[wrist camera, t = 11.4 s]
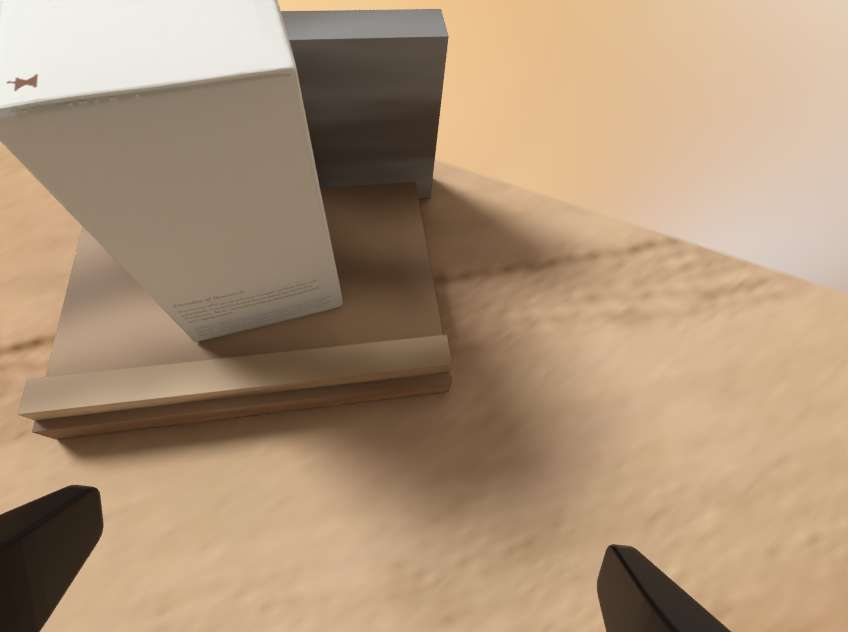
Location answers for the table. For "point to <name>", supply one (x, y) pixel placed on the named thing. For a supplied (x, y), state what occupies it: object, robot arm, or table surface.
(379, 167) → the ledge
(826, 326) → the table surface
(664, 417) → the table surface
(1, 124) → the supplement box
